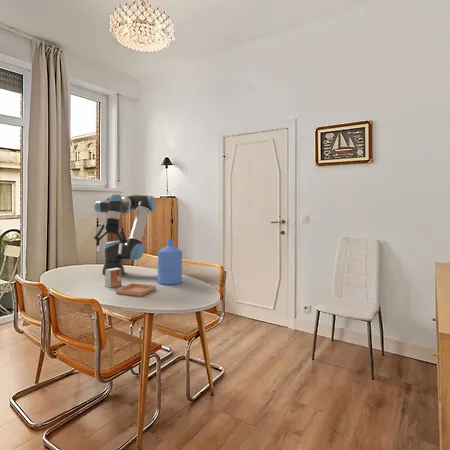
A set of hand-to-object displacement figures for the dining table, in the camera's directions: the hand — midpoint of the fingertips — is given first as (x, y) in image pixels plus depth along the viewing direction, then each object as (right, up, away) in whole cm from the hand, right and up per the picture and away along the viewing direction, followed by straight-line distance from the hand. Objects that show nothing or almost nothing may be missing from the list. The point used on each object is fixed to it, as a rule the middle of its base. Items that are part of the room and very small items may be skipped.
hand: (109, 252), depth 202 cm
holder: (+20, -21, -13) cm, 32 cm away
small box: (+3, -20, -1) cm, 21 cm away
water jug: (+35, -20, +12) cm, 43 cm away
